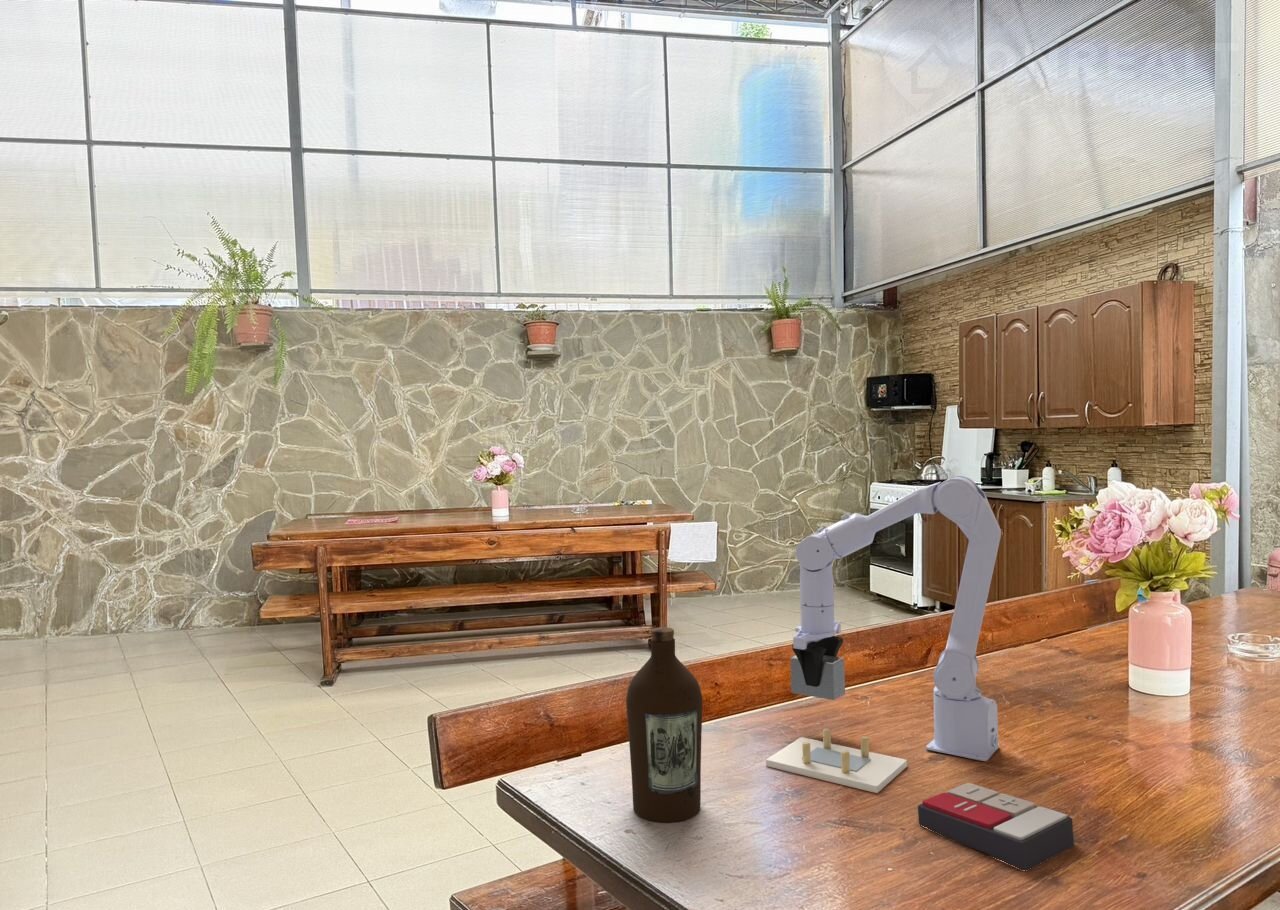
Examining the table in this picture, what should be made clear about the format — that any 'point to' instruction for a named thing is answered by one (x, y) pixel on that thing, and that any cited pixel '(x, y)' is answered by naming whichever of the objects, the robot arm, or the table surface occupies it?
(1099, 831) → the table surface
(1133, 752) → the table surface
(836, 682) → the block
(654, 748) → the olive oil
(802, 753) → the cream pegged board
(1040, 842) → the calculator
